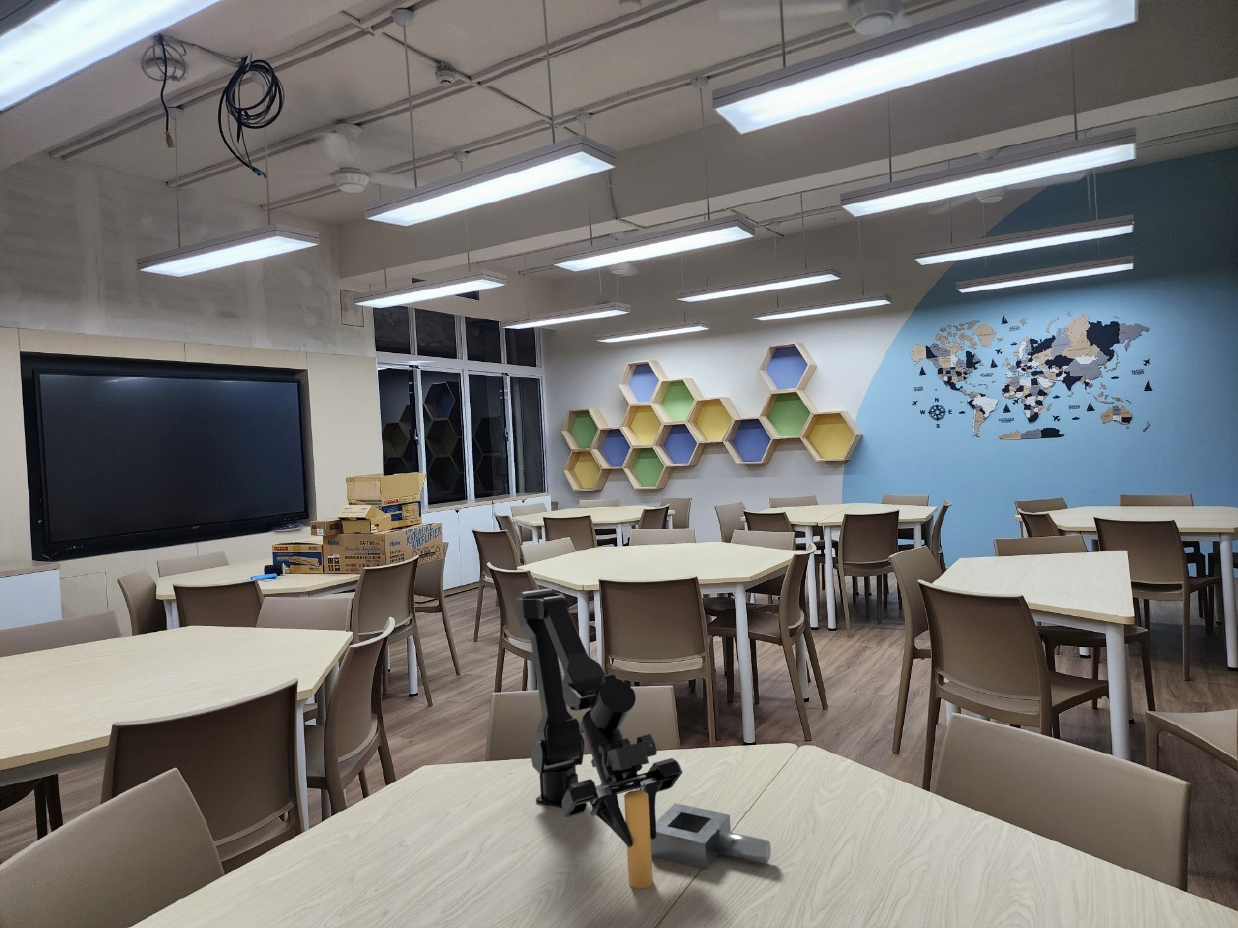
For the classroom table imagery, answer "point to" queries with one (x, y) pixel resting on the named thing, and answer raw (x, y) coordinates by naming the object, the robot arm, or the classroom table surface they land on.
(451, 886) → the classroom table surface
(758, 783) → the classroom table surface
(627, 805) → the orange cylinder
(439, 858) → the classroom table surface
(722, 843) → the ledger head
